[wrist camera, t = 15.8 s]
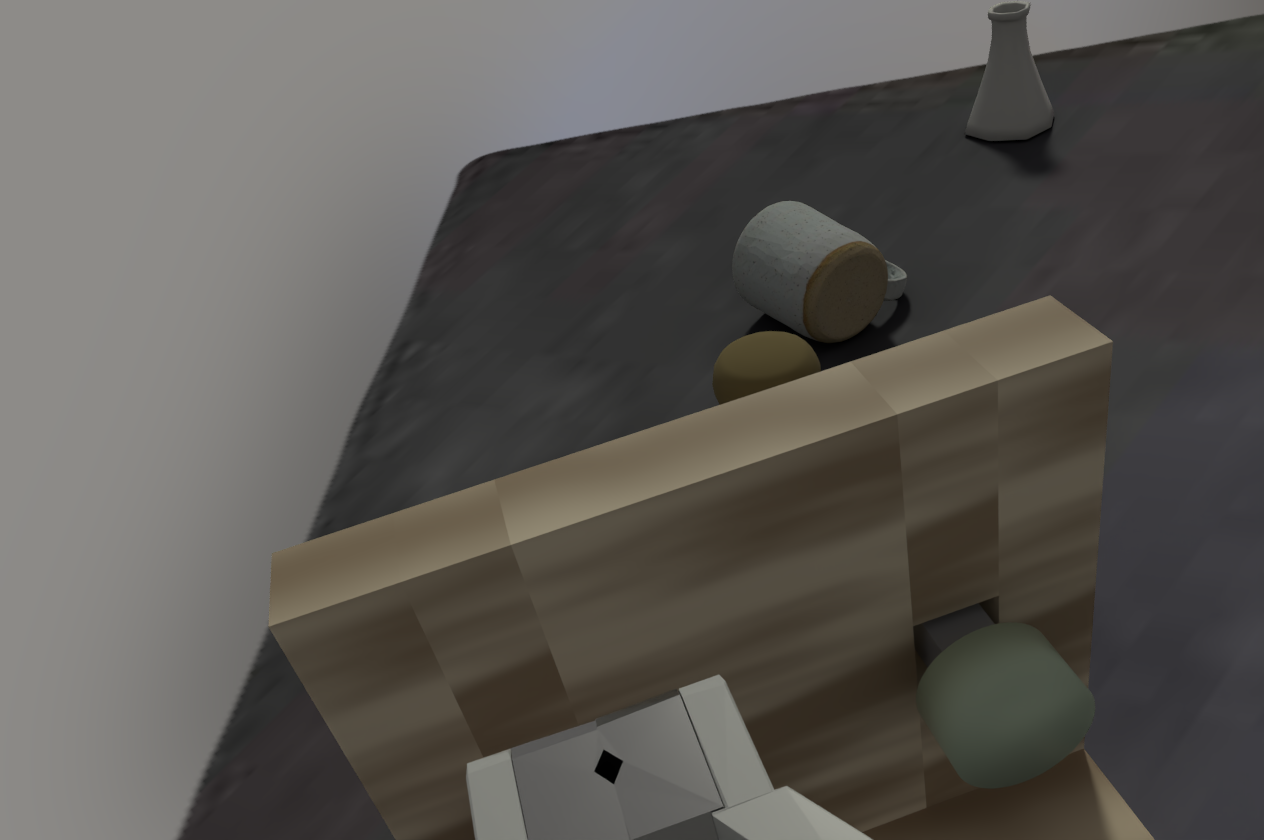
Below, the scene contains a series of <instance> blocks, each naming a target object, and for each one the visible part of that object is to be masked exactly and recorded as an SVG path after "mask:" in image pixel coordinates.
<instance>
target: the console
mask: <svg viewBox="0 0 1264 840" xmlns="http://www.w3.org/2000/svg"><path fill="white" fill-rule="evenodd" d="M1112 346H1113V341H1111V340H1110V339H1109V338H1107V337H1106V336H1105V335H1103V334H1102V333H1101V332H1099V331H1098V330H1097V329H1095V328H1094V327H1092V326H1091V325H1090V324H1088V323H1087V322H1086V321H1084V320H1083V319H1082V318H1080V317H1079V316H1077V315H1076V314H1075V313H1073V312H1072V311H1071V310H1069V309H1068V308H1067V307H1065V306H1064V305H1062V304H1061V303H1060V302H1058V301H1057V300H1056V299H1054V298H1053V297H1052V296H1047V297H1044V298H1041V299H1038V300H1035V301H1032V302H1029V303H1026V304H1023V305H1020V306H1017V307H1014V308H1011V309H1008V310H1005V311H1002V312H999V313H996V314H993V315H990V316H987V317H984V318H981V319H978V320H975V321H972V322H969V323H966V324H963V325H960V326H957V327H954V328H951V329H948V330H945V331H942V332H939V333H936V334H933V335H930V336H927V337H924V338H921V339H917V340H914V341H911V342H908V343H905V344H902V345H899V346H896V347H893V348H890V349H887V350H884V351H881V352H878V353H875V354H872V355H869V356H866V357H863V358H860V359H857V360H854V361H851V362H848V363H845V364H842V365H839V366H836V367H833V368H830V369H827V370H824V371H821V372H818V373H815V374H812V375H809V376H806V377H803V378H800V379H797V380H794V381H791V382H788V383H785V384H782V385H779V386H776V387H773V388H770V389H767V390H764V391H761V392H758V393H755V394H752V395H748V396H745V397H742V398H739V399H736V400H733V401H730V402H727V403H724V404H721V405H718V406H715V407H712V408H709V409H706V410H703V411H700V412H697V413H694V414H691V415H688V416H685V417H682V418H679V419H676V420H673V421H670V422H667V423H664V424H661V425H658V426H655V427H652V428H649V429H646V430H643V431H640V432H637V433H634V434H631V435H628V436H625V437H622V438H619V439H616V440H613V441H610V442H607V443H604V444H601V445H598V446H595V447H592V448H589V449H586V450H583V451H580V452H576V453H573V454H570V455H567V456H564V457H561V458H558V459H555V460H552V461H549V462H546V463H543V464H540V465H537V466H534V467H531V468H528V469H525V470H522V471H519V472H516V473H513V474H510V475H507V476H504V477H501V478H498V479H495V480H492V481H489V482H486V483H483V484H480V485H477V486H474V487H471V488H468V489H465V490H462V491H459V492H456V493H453V494H450V495H447V496H444V497H441V498H438V499H435V500H432V501H429V502H426V503H423V504H420V505H417V506H414V507H411V508H407V509H404V510H401V511H398V512H395V513H392V514H389V515H386V516H383V517H380V518H377V519H374V520H371V521H368V522H365V523H362V524H359V525H356V526H353V527H350V528H347V529H344V530H341V531H338V532H335V533H332V534H329V535H326V536H323V537H320V538H317V539H314V540H311V541H308V542H305V543H302V544H299V545H296V546H293V547H290V548H287V549H284V550H281V551H278V552H275V553H272V565H271V586H270V607H269V628H270V630H271V632H272V633H273V635H274V637H275V638H276V640H277V642H278V643H279V645H280V647H281V648H282V650H283V652H284V653H285V655H286V657H287V658H288V660H289V662H290V663H291V665H292V667H293V668H294V670H295V672H296V673H297V675H298V677H299V678H300V680H301V682H302V684H303V685H304V687H305V689H306V690H307V692H308V694H309V695H310V697H311V699H312V700H313V702H314V704H315V705H316V707H317V709H318V710H319V712H320V714H321V715H322V717H323V719H324V720H325V722H326V724H327V725H328V727H329V729H330V730H331V732H332V734H333V735H334V737H335V739H336V740H337V742H338V744H339V745H340V747H341V749H342V750H343V752H344V754H345V755H346V757H347V759H348V760H349V762H350V764H351V765H352V767H353V769H354V771H355V772H356V774H357V776H358V777H359V779H360V781H361V782H362V784H363V786H364V787H365V789H366V791H367V792H368V794H369V796H370V797H371V799H372V801H373V802H374V804H375V806H376V807H377V809H378V811H379V812H380V814H381V816H382V817H383V819H384V821H385V822H386V824H387V826H388V827H389V829H390V831H391V832H392V834H393V836H394V837H395V839H396V840H475V835H474V828H473V821H472V815H471V808H470V801H469V795H468V788H467V782H466V771H467V763H470V762H473V761H476V760H478V759H481V758H484V757H487V756H490V755H493V754H496V753H499V752H502V751H505V750H508V749H511V748H513V747H516V746H519V745H522V744H525V743H528V742H531V741H534V740H537V739H540V738H543V737H547V736H550V735H553V734H556V733H559V732H562V731H565V730H568V729H571V728H574V727H577V726H580V725H583V724H586V723H589V722H592V721H595V719H596V718H599V717H601V716H604V715H607V714H610V713H612V712H615V711H618V710H620V709H623V708H626V707H628V706H631V705H634V704H636V703H639V702H642V701H645V700H647V699H650V698H653V697H655V696H658V695H661V694H663V693H666V692H669V691H671V690H674V689H677V691H678V690H679V688H682V687H685V686H688V685H691V684H694V683H696V682H699V681H702V680H705V679H708V678H710V677H713V676H716V675H720V676H721V677H722V678H723V679H724V680H725V681H726V684H727V686H728V688H729V690H730V693H731V695H732V697H733V699H734V701H735V704H736V706H737V708H738V710H739V712H740V715H741V717H742V719H743V721H744V724H745V726H746V728H747V730H748V732H749V735H750V737H751V739H752V741H753V744H754V746H755V748H756V750H757V752H758V755H759V757H760V759H761V761H762V764H763V766H764V768H765V770H766V772H767V775H768V777H769V779H770V781H771V784H772V786H773V788H774V790H775V789H778V788H781V787H785V786H788V787H790V788H791V789H793V790H795V791H796V792H798V793H799V794H801V795H803V796H804V797H806V798H807V799H809V800H811V801H812V802H814V803H815V804H817V805H819V806H820V807H822V808H823V809H825V810H827V811H828V812H830V813H831V814H833V815H835V816H836V817H838V818H839V819H841V820H843V821H844V822H846V823H847V824H849V825H851V826H852V827H854V828H855V829H857V830H859V831H860V832H862V833H863V834H865V835H867V836H868V837H870V838H871V839H873V840H1154V838H1153V837H1152V836H1151V835H1150V833H1149V832H1148V831H1147V829H1146V828H1145V827H1144V826H1143V824H1142V823H1141V822H1140V820H1139V819H1138V818H1137V817H1136V815H1135V814H1134V813H1133V811H1132V810H1131V809H1130V808H1129V806H1128V805H1127V804H1126V802H1125V801H1124V800H1123V798H1122V797H1121V796H1120V795H1119V793H1118V792H1117V791H1116V789H1115V788H1114V787H1113V786H1112V784H1111V783H1110V782H1109V780H1108V779H1107V778H1106V777H1105V775H1104V774H1103V773H1102V771H1101V770H1100V769H1099V768H1098V766H1097V765H1096V764H1095V762H1094V761H1093V760H1092V759H1091V757H1090V756H1089V755H1088V753H1087V752H1086V751H1085V750H1084V738H1085V736H1084V738H1083V739H1082V740H1081V742H1080V743H1079V744H1078V745H1077V746H1076V747H1075V749H1074V750H1073V751H1072V752H1071V753H1070V754H1068V755H1067V756H1066V757H1065V758H1064V759H1063V760H1061V761H1060V762H1059V763H1058V764H1056V765H1055V766H1053V767H1052V768H1050V769H1049V770H1047V771H1045V772H1044V773H1042V774H1040V775H1038V776H1036V777H1034V778H1032V779H1030V780H1027V781H1025V782H1022V783H1019V784H1016V785H1012V786H1008V787H1002V788H992V789H989V788H979V787H975V786H972V785H970V784H968V783H966V782H965V781H963V780H962V779H961V778H960V776H959V775H958V774H957V772H956V770H955V769H954V767H953V766H952V764H951V763H950V761H949V759H948V758H947V756H946V755H945V753H944V752H943V750H942V748H941V747H940V745H939V744H938V742H937V741H936V739H935V737H934V736H933V734H932V733H931V731H930V729H929V728H928V726H927V725H926V723H925V722H924V720H923V718H922V717H921V715H920V714H919V712H918V709H917V706H916V693H917V688H918V685H919V682H920V680H921V678H922V676H923V674H924V673H925V671H926V670H927V666H926V665H925V663H924V662H923V660H922V659H921V657H920V656H919V654H918V653H917V652H916V650H915V646H914V633H913V626H915V625H918V624H921V623H924V622H927V621H929V620H932V619H935V618H938V617H941V616H943V615H946V614H949V613H952V612H954V611H957V610H960V609H963V608H966V607H968V606H971V605H974V604H977V603H979V605H980V606H981V607H982V608H983V610H984V611H985V612H986V614H987V615H988V616H989V617H990V619H991V620H992V621H993V622H994V624H999V623H1007V622H1017V623H1024V624H1027V625H1031V626H1033V627H1035V628H1036V629H1038V630H1039V631H1040V632H1041V633H1042V634H1043V635H1044V636H1045V638H1046V639H1047V640H1048V641H1049V642H1050V644H1051V645H1052V646H1053V647H1054V648H1055V650H1056V651H1057V652H1058V653H1059V654H1060V656H1061V657H1062V658H1063V659H1064V660H1065V662H1066V663H1067V664H1068V665H1069V666H1070V668H1071V669H1072V670H1073V671H1074V673H1075V674H1076V675H1077V676H1078V677H1079V679H1080V680H1081V681H1082V682H1083V683H1084V685H1085V686H1086V687H1087V688H1088V682H1089V668H1090V654H1091V640H1092V626H1093V612H1094V598H1095V584H1096V570H1097V556H1098V542H1099V528H1100V514H1101V500H1102V486H1103V472H1104V458H1105V444H1106V430H1107V416H1108V402H1109V388H1110V374H1111V360H1112Z"/></svg>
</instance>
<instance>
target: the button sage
mask: <svg viewBox="0 0 1264 840" xmlns="http://www.w3.org/2000/svg"><path fill="white" fill-rule="evenodd" d="M913 633H914V646H915V650H916V652H917V653H918V654H919V656H920V657H921V659H922V660H923V662H924V663H925V665H926V666H927V670H926V671H925V673H924V674H923V676H922V678H921V680H920V682H919V685H918V688H917V693H916V706H917V709H918V712H919V714H920V715H921V717H922V718H923V720H924V722H925V723H926V725H927V726H928V728H929V729H930V731H931V733H932V734H933V736H934V737H935V739H936V741H937V742H938V744H939V745H940V747H941V748H942V750H943V752H944V753H945V755H946V756H947V758H948V759H949V761H950V763H951V764H952V766H953V767H954V769H955V770H956V772H957V774H958V775H959V776H960V778H961V779H962V780H963V781H965V782H966V783H968V784H970V785H972V786H975V787H979V788H989V789H992V788H1002V787H1008V786H1012V785H1016V784H1019V783H1022V782H1025V781H1027V780H1030V779H1032V778H1034V777H1036V776H1038V775H1040V774H1042V773H1044V772H1045V771H1047V770H1049V769H1050V768H1052V767H1053V766H1055V765H1056V764H1058V763H1059V762H1060V761H1061V760H1063V759H1064V758H1065V757H1066V756H1067V755H1068V754H1070V753H1071V752H1072V751H1073V750H1074V749H1075V747H1076V746H1077V745H1078V744H1079V743H1080V742H1081V740H1082V739H1083V738H1084V736H1085V735H1086V733H1087V732H1088V730H1089V728H1090V726H1091V724H1092V721H1093V718H1094V714H1095V701H1094V697H1093V695H1092V693H1091V692H1090V691H1089V689H1088V688H1087V687H1086V686H1085V685H1084V683H1083V682H1082V681H1081V680H1080V679H1079V677H1078V676H1077V675H1076V674H1075V673H1074V671H1073V670H1072V669H1071V668H1070V666H1069V665H1068V664H1067V663H1066V662H1065V660H1064V659H1063V658H1062V657H1061V656H1060V654H1059V653H1058V652H1057V651H1056V650H1055V648H1054V647H1053V646H1052V645H1051V644H1050V642H1049V641H1048V640H1047V639H1046V638H1045V636H1044V635H1043V634H1042V633H1041V632H1040V631H1039V630H1038V629H1036V628H1035V627H1033V626H1031V625H1027V624H1024V623H1017V622H1007V623H999V624H994V622H993V621H992V620H991V619H990V617H989V616H988V615H987V614H986V612H985V611H984V610H983V608H982V607H981V606H980V605H979V603H977V604H974V605H971V606H968V607H966V608H963V609H960V610H957V611H954V612H952V613H949V614H946V615H943V616H941V617H938V618H935V619H932V620H929V621H927V622H924V623H921V624H918V625H915V626H913Z"/></svg>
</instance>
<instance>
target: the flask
mask: <svg viewBox="0 0 1264 840" xmlns="http://www.w3.org/2000/svg"><path fill="white" fill-rule="evenodd" d="M1029 9H1030V3H1029V2H1021V1H1013V2H1002V3H1000V4H997V5H995V6H993V7H990V9H989V12H988V18H989V19H990V20H992V41H991V47H990V52H989V58H988V62H987V66H986V69H985V72H984V75H983V79H982V82H981V85H980V88H979V92H978V95H977V98H976V101H975V103H974V106H973V109H972V112H971V115H970V118H969V121H968V124H967V127H966V130H965V134H966V135H969V136H973V137H977V138H980V139H984V140H988V141H1005V140H1026V139H1029V138H1031V137H1033V136H1035V135H1037V134H1039V133H1041V132H1043V131H1045V130H1046V129H1048V128H1050V127H1052V121H1053V116H1054V112H1053V109H1052V106H1051V103H1050V101H1049V99H1048V96H1047V94H1046V91H1045V89H1044V86H1043V84H1042V81H1041V79H1040V76H1039V73H1038V71H1037V68H1036V65H1035V62H1034V60H1033V57H1032V54H1031V51H1030V46H1029V41H1028V35H1027V29H1026V16H1027V15H1028V13H1029Z"/></svg>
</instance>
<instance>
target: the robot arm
mask: <svg viewBox="0 0 1264 840" xmlns="http://www.w3.org/2000/svg"><path fill="white" fill-rule="evenodd" d="M466 782H467V788H468V795H469V801H470V808H471V815H472V821H473V828H474V835H475V840H873V839H871V838H870V837H868V836H867V835H865V834H863V833H862V832H860V831H859V830H857V829H855V828H854V827H852V826H851V825H849V824H847V823H846V822H844V821H843V820H841V819H839V818H838V817H836V816H835V815H833V814H831V813H830V812H828V811H827V810H825V809H823V808H822V807H820V806H819V805H817V804H815V803H814V802H812V801H811V800H809V799H807V798H806V797H804V796H803V795H801V794H799V793H798V792H796V791H795V790H793V789H791V788H790V787H788V786H785V787H781V788H778V789H775V790H774V788H773V786H772V784H771V781H770V779H769V777H768V775H767V772H766V770H765V768H764V766H763V764H762V761H761V759H760V757H759V755H758V752H757V750H756V748H755V746H754V744H753V741H752V739H751V737H750V735H749V732H748V730H747V728H746V726H745V724H744V721H743V719H742V717H741V715H740V712H739V710H738V708H737V706H736V704H735V701H734V699H733V697H732V695H731V693H730V690H729V688H728V686H727V684H726V681H725V680H724V679H723V678H722V677H721V676H720V675H716V676H713V677H710V678H708V679H705V680H702V681H699V682H696V683H694V684H691V685H688V686H685V687H682V688H679V690H678V691H677V689H674V690H671V691H669V692H666V693H663V694H661V695H658V696H655V697H653V698H650V699H647V700H645V701H642V702H639V703H636V704H634V705H631V706H628V707H626V708H623V709H620V710H618V711H615V712H612V713H610V714H607V715H604V716H601V717H599V718H596V719H595V721H592V722H589V723H586V724H583V725H580V726H577V727H574V728H571V729H568V730H565V731H562V732H559V733H556V734H553V735H550V736H547V737H543V738H540V739H537V740H534V741H531V742H528V743H525V744H522V745H519V746H516V747H513V748H511V749H508V750H505V751H502V752H499V753H496V754H493V755H490V756H487V757H484V758H481V759H478V760H476V761H473V762H470V763H467V771H466Z"/></svg>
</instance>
